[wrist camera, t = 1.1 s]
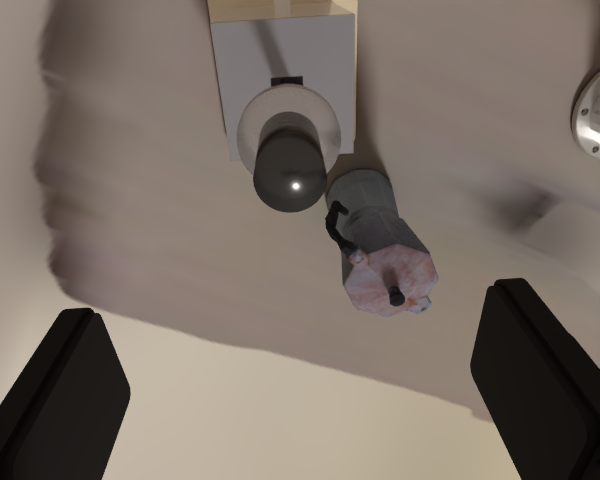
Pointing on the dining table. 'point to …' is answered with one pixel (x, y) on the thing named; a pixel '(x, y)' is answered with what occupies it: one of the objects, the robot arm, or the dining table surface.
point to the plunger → (289, 143)
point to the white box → (286, 55)
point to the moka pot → (378, 247)
